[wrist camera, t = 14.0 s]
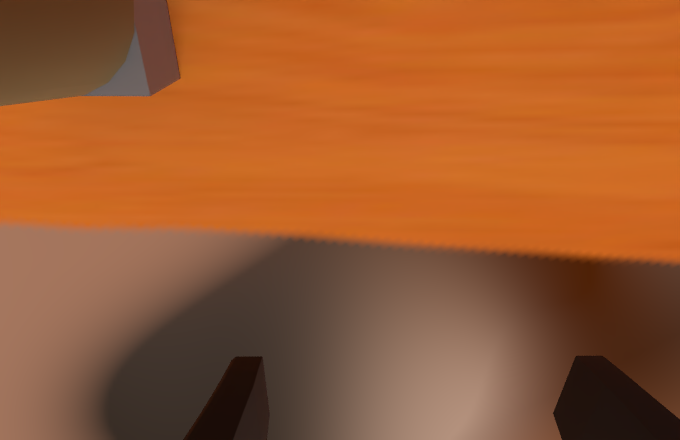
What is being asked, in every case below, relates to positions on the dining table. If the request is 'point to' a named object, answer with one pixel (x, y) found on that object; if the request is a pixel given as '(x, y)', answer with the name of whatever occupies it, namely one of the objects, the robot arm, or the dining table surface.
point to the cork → (61, 47)
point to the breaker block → (146, 55)
